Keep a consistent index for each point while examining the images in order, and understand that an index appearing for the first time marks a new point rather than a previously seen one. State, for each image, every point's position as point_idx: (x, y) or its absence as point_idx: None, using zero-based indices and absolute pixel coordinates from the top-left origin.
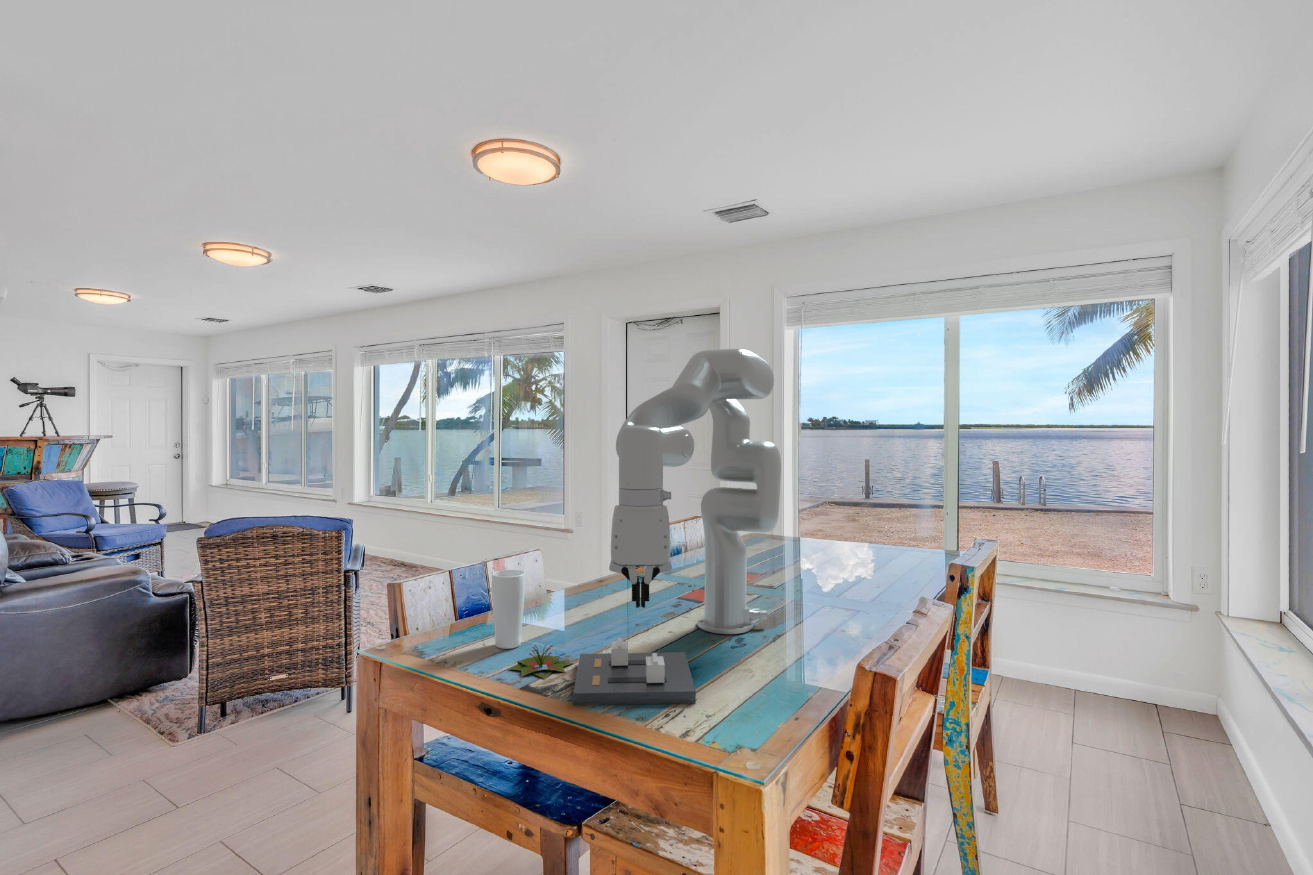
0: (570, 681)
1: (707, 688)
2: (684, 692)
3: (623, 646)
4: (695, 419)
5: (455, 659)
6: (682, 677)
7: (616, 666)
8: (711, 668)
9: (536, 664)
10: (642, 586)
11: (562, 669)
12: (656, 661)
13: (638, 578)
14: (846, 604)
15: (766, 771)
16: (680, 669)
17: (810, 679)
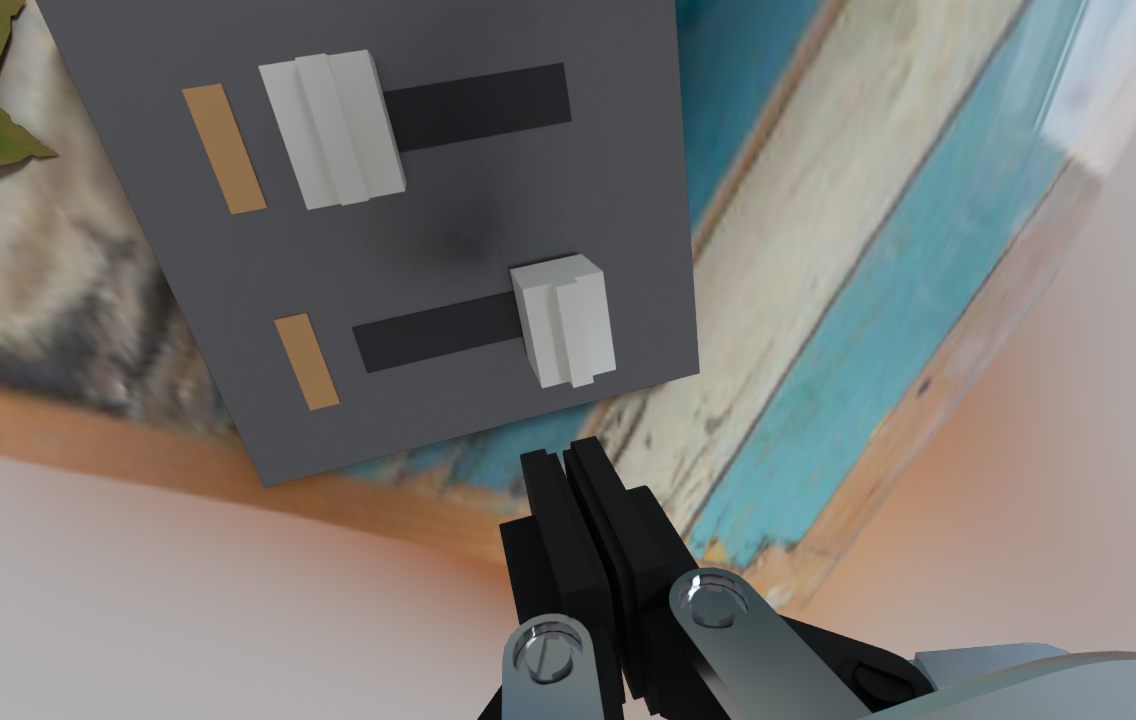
0: (145, 256)
1: (726, 231)
2: (661, 381)
3: (367, 155)
4: None
5: None
6: (656, 263)
7: None
8: (762, 5)
9: None
10: (646, 698)
11: (14, 128)
12: (586, 384)
13: (616, 693)
14: None
15: (797, 607)
16: (648, 177)
17: (1071, 92)
